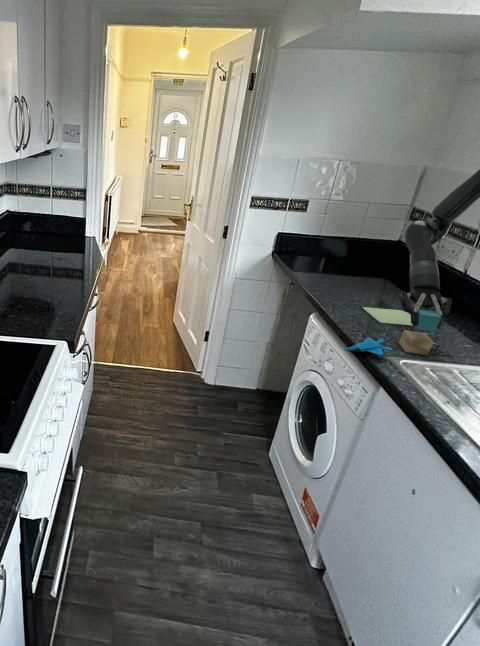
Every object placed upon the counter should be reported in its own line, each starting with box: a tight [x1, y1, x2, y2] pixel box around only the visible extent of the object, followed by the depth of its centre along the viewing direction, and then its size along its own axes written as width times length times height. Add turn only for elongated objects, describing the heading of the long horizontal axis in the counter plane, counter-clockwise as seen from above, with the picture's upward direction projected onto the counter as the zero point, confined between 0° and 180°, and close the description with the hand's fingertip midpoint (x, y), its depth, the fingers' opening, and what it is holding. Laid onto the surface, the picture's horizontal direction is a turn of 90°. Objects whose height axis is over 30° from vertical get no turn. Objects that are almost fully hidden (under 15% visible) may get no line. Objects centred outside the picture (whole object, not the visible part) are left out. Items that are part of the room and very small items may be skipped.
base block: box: [398, 329, 434, 356], centre depth 132 cm, size 6×6×5 cm
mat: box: [361, 306, 414, 327], centre depth 156 cm, size 16×14×1 cm
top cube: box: [410, 308, 442, 333], centre depth 129 cm, size 5×5×5 cm
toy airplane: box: [343, 337, 394, 360], centre depth 127 cm, size 12×10×4 cm
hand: (426, 326), depth 128 cm, fingers closed on top cube, 5 cm apart
